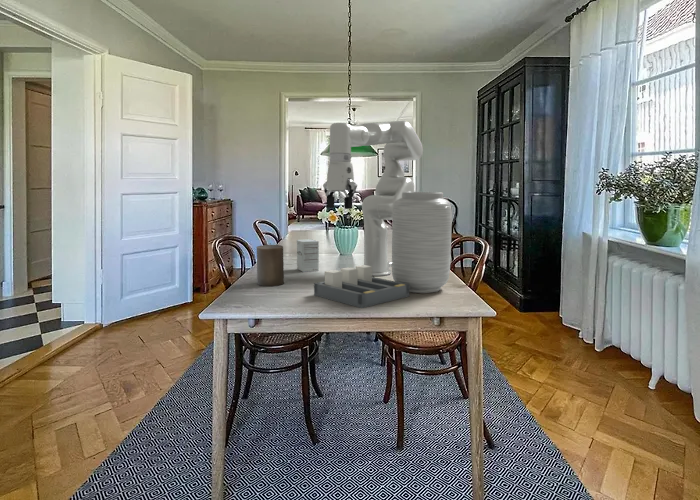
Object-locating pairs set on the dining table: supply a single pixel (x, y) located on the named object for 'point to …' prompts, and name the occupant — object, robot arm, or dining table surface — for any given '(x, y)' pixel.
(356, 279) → the tab middle
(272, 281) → the pillar candle
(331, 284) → the tab
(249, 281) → the dining table surface
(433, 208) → the vase
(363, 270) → the tab
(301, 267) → the supplement box
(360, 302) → the switch bank
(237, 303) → the dining table surface
